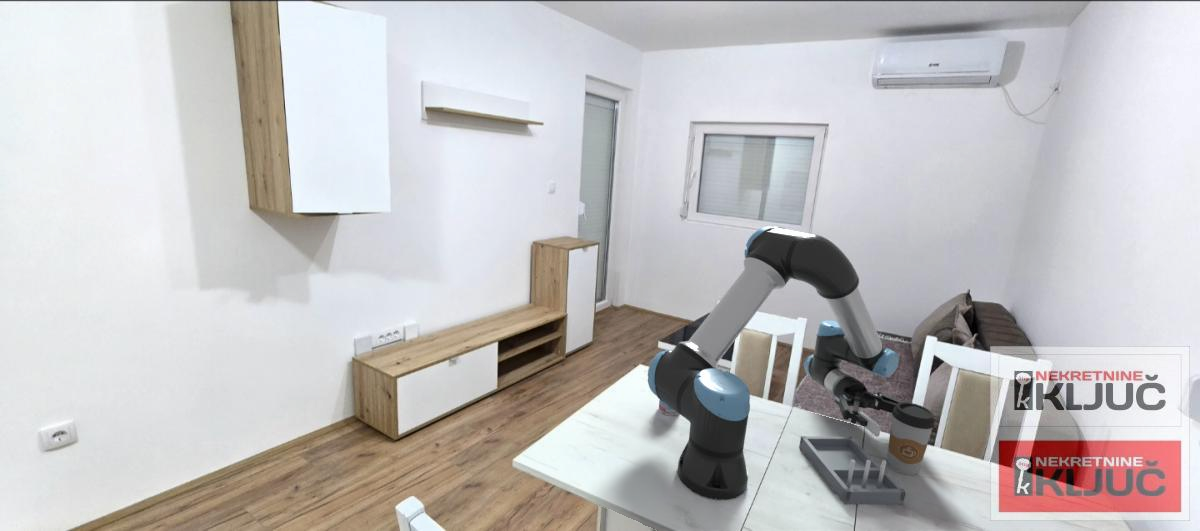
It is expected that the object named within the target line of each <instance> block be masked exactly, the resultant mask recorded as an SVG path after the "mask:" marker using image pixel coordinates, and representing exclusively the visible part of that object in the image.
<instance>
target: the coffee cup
mask: <svg viewBox="0 0 1200 531" xmlns="http://www.w3.org/2000/svg"><path fill="white" fill-rule="evenodd" d="M891 415H892V417H891V418H892V419H891V426H890V431H889V432H890V433H889V439H888V447H887V458H886V463H887V464H888V466H889V467H890V468H891V469H892V470H894V471H896V472H898V473H900V474H902V475H907V476H914V475H916V474H917V473H918V472H919V470H920V467H921V464H922V461H923V460H924V456H925V453H926V451H927V448H928V444H929V441H930V437H931V434H932V431H933V428H934V427H935V422H936V421H935V420H936V419H935V418H934V415H935V414H934V413H933V412H932V410H930V409H928V408H927V407H925V406H922V405H920V404H918V403H913V402H907V401H902V402H900V403H898V404H897V405H896V406H895V407H894V409H893V412H892V413H891Z"/></svg>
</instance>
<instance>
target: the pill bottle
mask: <svg viewBox="0 0 1200 531" xmlns="http://www.w3.org/2000/svg"><path fill="white" fill-rule="evenodd" d="M658 402H659V403H658V410H659V411H660V413H662V414H664V415H667V416H677V415H679V413H678V412H676V411H675V410H674V409H672V408H671V407H670V406H669V405H667V404H666V403H664V402H662V401H661V400H660V399H659V400H658Z"/></svg>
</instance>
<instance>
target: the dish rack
mask: <svg viewBox="0 0 1200 531" xmlns="http://www.w3.org/2000/svg"><path fill="white" fill-rule="evenodd" d="M798 446H799V448H800V450H801V451H802V452H803V453H804V455H805V456H806V457H807V459H808V461H810V462H811V464H812V465H813V466H814V467H815V470H816V471H817V472H818V473H819V474H820V476H822V478H823V479H824V481H826V483H827V484H828V485H829V487H830V488H831V489H832V491H833V492H834V493H835V494H836V495H837V497H838V498H839V499H840V501H841V502H842V503H843V504H844V505H904V504H905V499H906V495H907V491H906V490H905V489H904V488H903V487H902V486H901V485H900V484H899V483H898V482H897V481H896V480H895V479H894V478H893V477H892V476H891V475H890V474H889V473H888V472H887V471H886V470H885V469H886V465H887V460H885V459H882V460H881V464H879V463H878V462H877V461H876V460H875V459H874V458H873V457H872V456H871V455H870V454H869V453H868V452H867V451H866V450H865V449H864V448H863V447H862V446H861V445H860V444H859V443H858V442H857V441H856V440H855V439H854V438H853V437H852V436H826V435H825V436H819V435H817V436H816V435H815V436H813V435H812V436H811V435H810V436H809V435H800V440H799V445H798Z"/></svg>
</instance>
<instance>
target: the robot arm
mask: <svg viewBox="0 0 1200 531" xmlns="http://www.w3.org/2000/svg"><path fill="white" fill-rule="evenodd" d="M745 246H746V248H745V249H744V260H743V267H744V270H743V271H742V272H741V273H740V274H739V276H738V277H737V278H736V280H735V281H734V282H733V283H732V285H731V286H730V287H729V289H727V291H726V293H724V295H723V296H722V297H721V298H720V300H719V301H718V302H717V304H716V305H715V306H714V308H713V309H712V310H711V311H710V313H709V314H708V315H707V317H706V318H705V319H704V320H703V322H701V324H700V325H699V327H698V328H697V329H696V331H695V332H694V333H693V334H692V336H691V337H690V338H689V339H688V340H686V341H679V342H678V343H677V344H676V346H675V347H673V349H665V350H661V351H660V352H658V353H657V354H656V355H655V356H654V357H653V358H652V359H651V362H650V364H649V367H648V369H647V377H648V378H647V384H648V387H649V389H650V391H651V392H652V393H653V394H654V395H655V396H656V397H657V398H658V399H659V400H661V401H662V402H664V403H666V404H667V405H669V406H670V407H671V408H672V409H674V410H675V411H676V412H678V413H679V414H680V415H681V416H682V417H683V418H684V419H686V420H687V421H688V422H689V423H690V426H689V437H688V440H687V442H686V445H685V446H684V448H683V450H682V451H681V454H680V456H679V458H678V462H677V464H678V465H677V475H678V479H679V481H680V482H681V483H682V484H683V485H684V486H685V488H687V489H688V490H690V491H691V492H693V493H695V494H696V495H699V496H701V497H703V498H707V499H710V500H716V501H729V500H734V499H736V498H738V497H740V496H742V495H743V494H744V493H745V492H746V490H747V488H748V481H749V473H748V468H747V465H746V459H745V455H744V454H745V453H744V447H745V439H746V434H747V428H748V427H747V426H748V421H749V414H750V411H751V410H750V409H751V402H750V400H751V394H750V393H751V392H750V390H749V387H748V385H747V383H745V382H744V380H742V378H740V377H739V376H738V375H736V374H734V373H732V372H730V371H728V370H726V371H724V370H722V369H720V368H718V363H719V362H720V360H722V358H723V357H724V355H725V354H726V352H727V351H728V350H729V349H730V347H731V345H733V343H734V342H735V340H736V339H737V338H738V337H739V335H740V334H741V333H742V332H743V331H744V329H745V327H747V325H748V324H749V322H750V321H751V320H752V318H753V317H754V316H755V315H756V313H757V312H758V311H759V310H760V308H761V307H762V306H763V304H764V303H765V302H766V300H767V299H768V298H769V296H770V295H771V294H772V292H773V291H774V290H780V289H783V288H784V287H785V286H786V285H787V283H788V282H789V281H790V280H791V279H793V280H795V281H801V282H803V283H807V284H808V285H810V286H812V287H813V288H814V289H815V290H816V292H817V294H818V295H819V296H820V297H822V298H823V299H825V300H826V302H827V304H828V306H829V308H830V311H831V312H832V313H833V316H834V318H835V320H836V321H835V320H822V321H821V322H820V323H819V325H818V330H817V333H816V338H815V346H814V353H813V354H811V355H809V356H808V357H807V359H806V360H805V361H804V363H803V364H804V366H803V368H804V371H805V373H806V374H807V375H808V376H809V377H810V378H811V379H812V380H813V382H816V383H817V384H819V385H821V386H822V387H823V388H824V389H826V390H827V392H829V393H830V394H832V395H833V396H834V397H835V401H834V402H835V403H836V404H837V405H838V407H839V411H840V413H841V416H842V418H843V419H844V420H847V421H848V420H849V419H850V423H852V424H857V423H858V424H859V425H860V426H862V427H864V428H865V429H866V430H867V431H868V432H869V433H871V434H872V435H874V436H875V437H877V438H879V437H880V434H881V429H882V426H881V425H880V424H879V423H877V422H876V421H875V420H874V419H873V418H871V417H870V416H868V414H866V413H865V412H863V411H859V410H860V408H862V409H868V408H869V409H873V410H877V411H880V410H881V411H885V412H887V413H891V414H892V412H893V409H894V407H895V406H896V405H897V404H898V403H900V402H903V401H902V400H899V399H897V398H894V397H892V396H890V395H887V394H885V393H884V392H881V391H877V393H876V394H874V393H872V392H871V391H868V389H867V387H866V385H865V384H864V383H863V382H862V381H861V380H859V379H858V378H856V377H854V376H853V375H852V374H851V373H848V372H847V371H846V370H844V369H843V368H841V363H842V361H843V362H846V363H848V364H850V365H853V366H856V367H858V368H860V369H862V370H864V371H867V372H870V373H871V374H873V375H877V376H880V377H883V378H889V377H891V376H892V375H893V374H894V373H895V371H896V370H897V368H898V367H899V366H898V365H899V360H900V358H899V355H898V353H897V352H896V351H894V350H892V349H890V348H887V347H885V346H884V345H883V343H882V340H881V338H880V335H879V333H878V331H877V329H876V327H875V324H874V322H873V320H872V318H871V315H870V313H869V310H868V308H867V306H866V304H865V301H864V299H863V297H862V294H861V292H860V289H859V288H858V287H859V285H860V278H859V276H858V273H857V271H856V269H855V268H854V266H853V264H852V262H851V261H850V259H849V258H848V257H847V255H846V254H845V253H844V252H843V251H842V250H841V249H840V248H839V247H838V246H837V245H836V244H834V242H832V241H831V240H829V239H828V238H826V237H824V236H822V235H819V234H816V233H809V232H802V231H797V230H792V229H791V230H790V229H787V228H785V227H781V226H765V227H760V228H759V229H757V230H755V232H753V233H752V234H751V235H750V236H749V238H748V240H747V242H746V245H745ZM876 402H877V403H876ZM876 404H877V405H876ZM850 407H852V411H851V409H850ZM679 414H678V415H679Z"/></svg>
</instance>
